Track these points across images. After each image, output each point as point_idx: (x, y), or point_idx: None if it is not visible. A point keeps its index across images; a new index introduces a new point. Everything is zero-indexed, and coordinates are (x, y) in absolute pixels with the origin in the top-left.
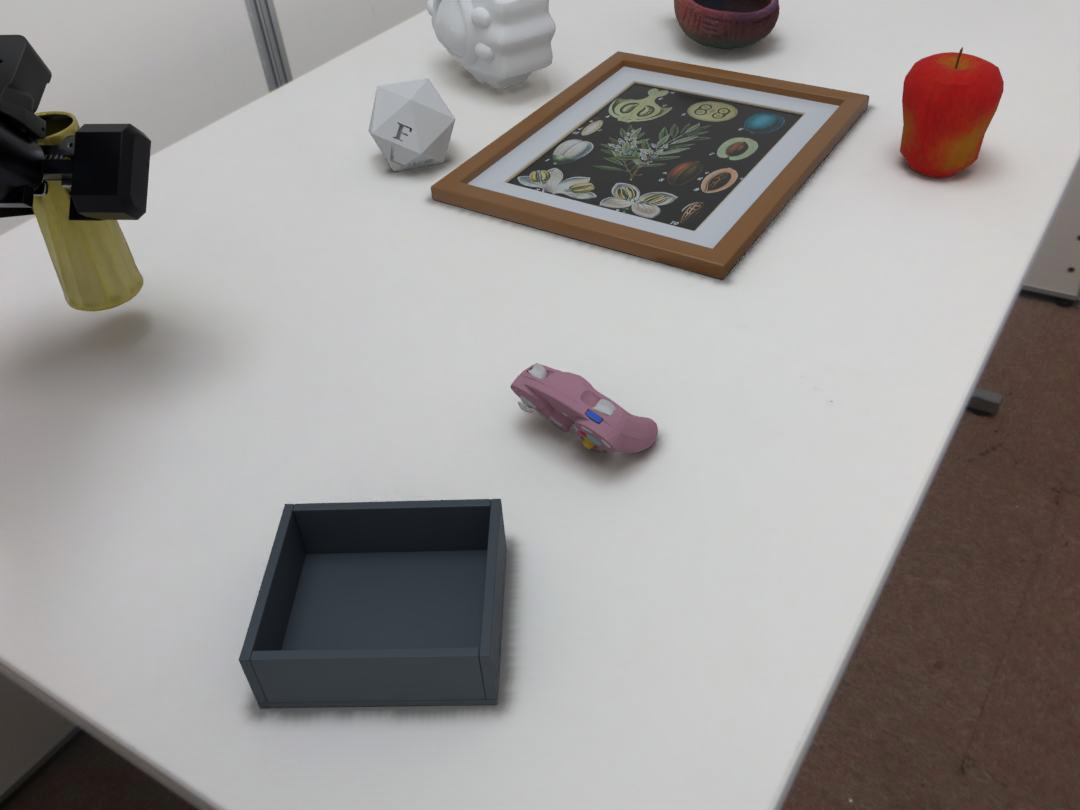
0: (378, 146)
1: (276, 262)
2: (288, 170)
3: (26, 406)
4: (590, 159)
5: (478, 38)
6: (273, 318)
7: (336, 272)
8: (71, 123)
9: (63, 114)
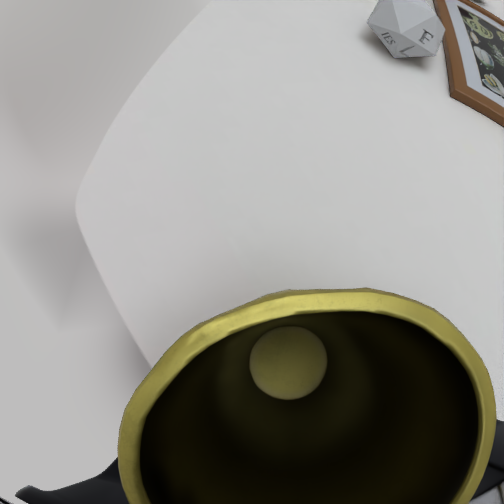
0: (382, 37)
1: (389, 195)
2: (297, 54)
3: None
4: (499, 69)
5: None
6: (437, 296)
7: (451, 207)
8: (393, 321)
9: (373, 312)
